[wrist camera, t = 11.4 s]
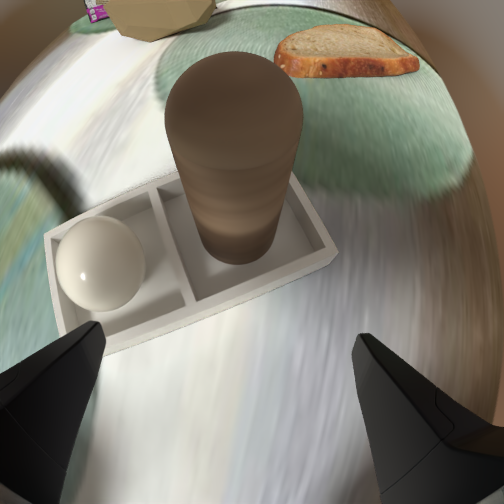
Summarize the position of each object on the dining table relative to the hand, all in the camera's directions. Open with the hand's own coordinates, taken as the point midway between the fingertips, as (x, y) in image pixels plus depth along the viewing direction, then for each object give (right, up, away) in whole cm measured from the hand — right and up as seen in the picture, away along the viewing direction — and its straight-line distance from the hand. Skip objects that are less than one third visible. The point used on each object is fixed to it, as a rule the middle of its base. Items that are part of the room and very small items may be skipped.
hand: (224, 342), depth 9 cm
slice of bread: (+14, +27, +20) cm, 36 cm away
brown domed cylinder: (0, +4, +10) cm, 11 cm away
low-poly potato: (-11, +33, +21) cm, 40 cm away
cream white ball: (-8, +1, +9) cm, 12 cm away
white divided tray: (-4, +3, +10) cm, 11 cm away
